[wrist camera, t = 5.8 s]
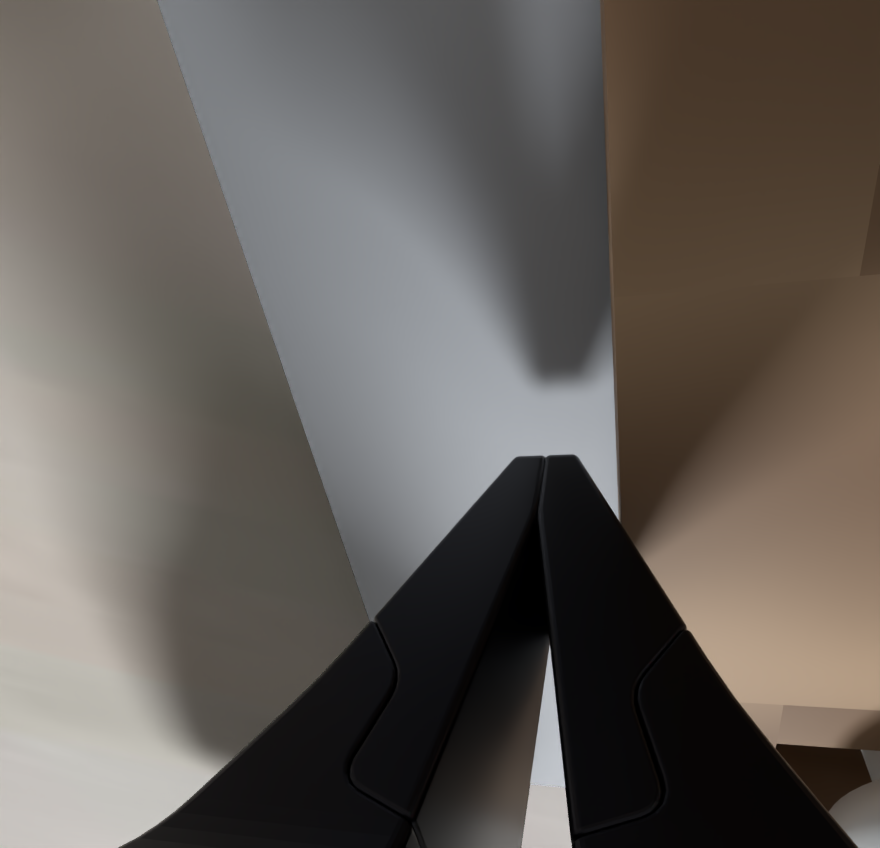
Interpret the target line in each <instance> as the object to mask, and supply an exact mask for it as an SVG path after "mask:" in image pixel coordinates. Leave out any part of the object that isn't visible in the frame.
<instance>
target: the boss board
mask: <svg viewBox="0 0 880 848" xmlns="http://www.w3.org/2000/svg"><path fill="white" fill-rule="evenodd" d="M157 2H158V5H159V8H160V11H161V13H162V16H163V19H164V22H165V25H166V28H167V31H168V34H169V37H170V40H171V43H172V46H173V49H174V51H175V54H176V57H177V60H178V63H179V66H180V69H181V72H182V75H183V78H184V81H185V84H186V86H187V89H188V92H189V95H190V98H191V101H192V104H193V107H194V110H195V113H196V116H197V119H198V121H199V124H200V127H201V130H202V133H203V136H204V139H205V142H206V145H207V148H208V151H209V154H210V157H211V159H212V162H213V165H214V168H215V171H216V174H217V177H218V180H219V183H220V186H221V189H222V192H223V194H224V197H225V200H226V203H227V206H228V209H229V212H230V215H231V218H232V221H233V224H234V227H235V229H236V232H237V235H238V238H239V241H240V244H241V247H242V250H243V253H244V256H245V259H246V262H247V265H248V267H249V270H250V273H251V276H252V279H253V282H254V285H255V288H256V291H257V294H258V297H259V300H260V302H261V305H262V308H263V311H264V314H265V317H266V320H267V323H268V326H269V329H270V332H271V335H272V337H273V340H274V343H275V346H276V349H277V352H278V355H279V358H280V361H281V364H282V367H283V370H284V373H285V375H286V378H287V381H288V384H289V387H290V390H291V393H292V396H293V399H294V402H295V405H296V408H297V410H298V413H299V416H300V419H301V422H302V425H303V428H304V431H305V434H306V437H307V440H308V443H309V445H310V448H311V451H312V454H313V457H314V460H315V463H316V466H317V469H318V472H319V475H320V478H321V481H322V483H323V486H324V489H325V492H326V495H327V498H328V501H329V504H330V507H331V510H332V513H333V516H334V518H335V521H336V524H337V527H338V530H339V533H340V536H341V539H342V542H343V545H344V548H345V551H346V553H347V556H348V559H349V562H350V565H351V568H352V571H353V574H354V577H355V580H356V583H357V586H358V589H359V591H360V594H361V597H362V600H363V603H364V606H365V609H366V612H367V615H368V618H369V621H370V622H371V621H374V617H375V616H376V614H377V613H378V612H379V611H380V610H381V609H382V608H383V606H384V605H385V604H386V603H387V602H388V601H389V600H390V598H391V597H392V596H393V595H394V594H395V593H396V592H397V591H398V589H399V588H400V587H401V586H402V585H403V584H404V583H405V581H406V580H407V579H408V578H409V577H410V576H411V575H412V573H413V572H414V571H415V570H416V569H417V568H418V567H419V566H420V564H421V563H422V562H423V561H424V560H425V559H426V558H427V556H428V555H429V554H430V553H431V552H432V551H433V550H434V548H435V547H436V546H437V545H438V544H439V543H440V542H441V541H442V539H443V538H444V537H445V536H446V535H447V534H448V533H449V531H450V530H451V529H452V528H453V527H454V526H455V525H456V523H457V522H458V521H459V520H460V519H461V518H462V517H463V516H464V514H465V513H466V512H467V511H468V510H469V509H470V508H471V506H472V505H473V504H474V503H475V502H476V501H477V500H478V498H479V497H480V496H481V495H482V494H483V493H484V492H485V491H486V489H487V488H488V487H489V486H490V485H491V484H492V483H493V481H494V480H495V479H496V478H497V477H498V476H499V475H500V474H501V472H502V471H503V470H504V469H505V468H506V467H507V466H508V464H509V463H510V462H511V461H512V460H513V459H514V458H515V457H518V456H537V455H542V456H545V457H547V456H548V455H563V454H574V455H576V456H577V457H578V458H579V459H580V460H581V462H582V464H583V465H584V467H585V468H586V470H587V471H588V473H589V475H590V476H591V478H592V479H593V481H594V482H595V484H596V485H597V487H598V489H599V490H600V492H601V493H602V495H603V496H604V498H605V499H606V501H607V503H608V504H609V506H610V507H611V509H612V510H613V512H614V513H615V515H616V517H617V518H618V520H619V514H618V487H617V459H616V431H615V403H614V376H613V348H612V320H611V292H610V265H609V237H608V209H607V181H606V154H605V126H604V98H603V70H602V43H601V15H600V0H157ZM374 622H375V621H374ZM861 752H862V754H863V757H864V760H865V763H866V766H867V769H868V771H869V774H870V777H871V780H872V782H870V783H868V784H865V785H863V786H860V787H858V788H857V789H855V790H853V791H851V792H849V793H848V794H846V795H845V796H843V797H842V798H841V799H839V800H838V801H837V802H836V803H835V804H834V805H833V807H832V808H831V809H830V811H829V813H830V814H831V815H832V817H833V818H834V819H835V820H836V821H837V823H838V824H839V825H840V826H841V827H842V829H843V830H844V831H845V832H846V833H847V835H848V836H849V837H850V838H851V839H852V841H853V842H854V843H855V844H856V845H857V847H858V848H880V751H873V750H861ZM530 784H531V785H542V786H552V787H563V788H565V780H564V770H563V761H562V752H561V743H560V733H559V724H558V715H557V706H556V697H555V687H554V678H553V669H552V660H551V650H550V646H549V653H548V660H547V667H546V674H545V682H544V689H543V696H542V703H541V710H540V717H539V724H538V731H537V738H536V745H535V753H534V760H533V767H532V774H531V781H530Z"/></svg>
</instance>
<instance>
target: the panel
mask: <svg viewBox="0 0 880 848" xmlns="http://www.w3.org/2000/svg"><path fill="white" fill-rule="evenodd" d="M600 15H601V43H602V70H603V98H604V126H605V154H606V181H607V209H608V237H609V265H610V292H611V320H612V348H613V376H614V403H615V431H616V459H617V487H618V514H619V521H620V523H621V524H622V526H623V527H624V529H625V531H626V532H627V534H628V535H629V537H630V538H631V540H632V541H633V543H634V545H635V546H636V548H637V549H638V551H639V552H640V554H641V555H642V557H643V559H644V560H645V562H646V563H647V565H648V566H649V568H650V570H651V571H652V573H653V574H654V576H655V577H656V579H657V580H658V582H659V584H660V585H661V587H662V588H663V590H664V591H665V593H666V594H667V596H668V598H669V599H670V601H671V602H672V604H673V605H674V607H675V608H676V610H677V612H678V613H679V615H680V616H681V618H682V619H683V621H684V622H685V624H686V626H687V630H689V631H690V632H691V633H692V634H693V636H694V637H695V639H696V641H697V642H698V644H699V645H700V647H701V648H702V650H703V651H704V653H705V655H706V656H707V658H708V659H709V661H710V662H711V663H712V665H713V666H714V668H715V669H716V671H717V672H718V673H719V675H720V676H721V678H722V679H723V681H724V682H725V684H726V685H727V686H728V688H729V689H730V691H731V692H732V694H733V695H734V697H735V698H736V699H737V701H738V702H739V703H740V704H741V706H742V707H743V708H744V709H745V711H746V712H747V713H748V714H749V716H750V717H751V718H752V720H753V721H754V722H755V723H756V725H757V726H758V727H759V728H760V730H761V731H762V732H763V733H764V735H765V736H766V737H767V738H768V740H769V741H770V742H771V744H772V745H773V746H774V747H775V748H776V750H777V751H778V752H779V753H780V754H781V756H782V757H783V758H784V759H785V760H786V762H787V763H788V764H789V765H790V766H791V768H792V769H793V770H794V771H795V772H796V774H797V775H798V776H799V777H800V778H801V780H802V781H803V782H804V783H805V784H806V785H807V787H808V788H809V789H810V790H811V791H812V793H813V794H814V795H815V796H816V797H817V799H818V800H819V801H820V802H821V803H822V805H823V806H824V807H825V808H826V809H827V811H828V812H829V811H830V809H831V808H832V807H833V805H834V804H835V803H836V802H837V801H838V800H839V799H841V798H842V797H843V796H845V795H846V794H848V793H849V792H851V791H853V790H855V789H857V788H858V787H860V786H863V785H865V784H868V783H870V782H872V780H871V777H870V774H869V771H868V769H867V766H866V763H865V760H864V757H863V754H862V752H861V750H873V751H880V0H600Z"/></svg>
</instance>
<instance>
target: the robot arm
mask: <svg viewBox="0 0 880 848" xmlns="http://www.w3.org/2000/svg"><path fill="white" fill-rule="evenodd" d="M374 621H375V622H374ZM374 621H371V622H369V623H368V624H367V625H366V626H365V628H364V629H363V630H362V631H361V632H360V633H359V634H358V636H357V637H356V638H355V639H354V640H353V641H352V642H351V643H350V645H349V646H348V647H347V648H346V649H345V650H344V651H343V652H342V653H341V654H340V655H339V656H338V657H337V659H336V660H335V661H334V662H333V663H332V664H331V665H330V666H329V667H328V668H327V669H326V670H325V671H324V672H323V674H322V675H321V676H320V677H319V678H318V679H317V680H316V681H315V682H313V683H312V684H311V685H310V686H309V687H308V688H307V689H306V690H305V691H304V692H303V693H302V694H301V695H300V696H299V697H298V698H297V699H296V700H295V701H294V702H293V703H292V704H291V705H290V706H289V707H288V708H287V709H286V710H285V711H284V712H283V713H281V714H280V715H279V716H278V717H277V718H276V719H275V720H274V721H273V722H272V723H271V724H270V725H269V726H267V727H266V728H265V729H264V730H263V731H262V732H261V733H260V734H259V735H258V736H257V737H256V738H255V739H253V740H252V741H251V742H250V743H249V744H248V745H247V746H246V747H245V748H244V749H243V750H242V751H241V752H239V753H238V754H237V755H236V756H235V757H234V758H233V759H232V760H231V761H230V762H229V763H228V764H227V765H225V766H224V767H223V768H222V769H221V770H220V771H219V772H218V773H217V774H216V775H215V776H214V777H213V778H211V779H210V780H209V781H208V782H207V783H206V784H205V785H204V786H203V787H202V788H201V789H200V790H199V791H197V792H196V793H195V794H194V795H193V796H192V797H191V798H190V799H189V800H187V801H186V802H185V803H184V804H183V805H182V806H181V807H179V808H178V809H177V810H176V811H175V812H173V813H172V814H171V815H169V816H168V817H167V818H165V819H164V820H163V821H161V822H160V823H159V824H157V825H156V826H155V827H153V828H151V829H150V830H148V831H147V832H145V833H144V834H142V835H141V836H139V837H137V838H136V839H134V840H132V841H130V842H128V843H126V844H124V845H122V846H121V847H119V848H521V845H522V838H523V831H524V824H525V816H526V809H527V802H528V795H529V788H530V781H531V774H532V767H533V760H534V753H535V745H536V738H537V731H538V724H539V717H540V710H541V703H542V696H543V689H544V682H545V674H546V667H547V660H548V653H549V646H550V650H551V660H552V669H553V678H554V687H555V697H556V706H557V715H558V724H559V733H560V743H561V752H562V761H563V770H564V780H565V789H566V798H567V807H568V817H569V826H570V835H571V842H572V848H858V847H857V845H856V844H855V843H854V842H853V841H852V839H851V838H850V837H849V836H848V835H847V833H846V832H845V831H844V830H843V829H842V827H841V826H840V825H839V824H838V823H837V821H836V820H835V819H834V818H833V817H832V815H831V814H830V813H829V812H828V811H827V809H826V808H825V807H824V806H823V805H822V803H821V802H820V801H819V800H818V799H817V797H816V796H815V795H814V794H813V793H812V791H811V790H810V789H809V788H808V787H807V785H806V784H805V783H804V782H803V781H802V780H801V778H800V777H799V776H798V775H797V774H796V772H795V771H794V770H793V769H792V768H791V766H790V765H789V764H788V763H787V762H786V760H785V759H784V758H783V757H782V756H781V754H780V753H779V752H778V751H777V750H776V748H775V747H774V746H773V745H772V744H771V742H770V741H769V740H768V738H767V737H766V736H765V735H764V733H763V732H762V731H761V730H760V728H759V727H758V726H757V725H756V723H755V722H754V721H753V720H752V718H751V717H750V716H749V714H748V713H747V712H746V711H745V709H744V708H743V707H742V706H741V704H740V703H739V702H738V701H737V699H736V698H735V697H734V695H733V694H732V692H731V691H730V689H729V688H728V686H727V685H726V684H725V682H724V681H723V679H722V678H721V676H720V675H719V673H718V672H717V671H716V669H715V668H714V666H713V665H712V663H711V662H710V661H709V659H708V658H707V656H706V655H705V653H704V651H703V650H702V648H701V647H700V645H699V644H698V642H697V641H696V639H695V637H694V636H693V634H692V633H691V632H690V631H689V630H687V626H686V624H685V622H684V621H683V619H682V618H681V616H680V615H679V613H678V612H677V610H676V608H675V607H674V605H673V604H672V602H671V601H670V599H669V598H668V596H667V594H666V593H665V591H664V590H663V588H662V587H661V585H660V584H659V582H658V580H657V579H656V577H655V576H654V574H653V573H652V571H651V570H650V568H649V566H648V565H647V563H646V562H645V560H644V559H643V557H642V555H641V554H640V552H639V551H638V549H637V548H636V546H635V545H634V543H633V541H632V540H631V538H630V537H629V535H628V534H627V532H626V531H625V529H624V527H623V526H622V524H621V523H620V521H619V520H618V518H617V517H616V515H615V513H614V512H613V510H612V509H611V507H610V506H609V504H608V503H607V501H606V499H605V498H604V496H603V495H602V493H601V492H600V490H599V489H598V487H597V485H596V484H595V482H594V481H593V479H592V478H591V476H590V475H589V473H588V471H587V470H586V468H585V467H584V465H583V464H582V462H581V460H580V459H579V458H578V457H577V456H576V455H574V454H563V455H548V456H547V457H545V456H542V455H537V456H518V457H515V458H514V459H513V460H512V461H511V462H510V463H509V464H508V466H507V467H506V468H505V469H504V470H503V471H502V472H501V474H500V475H499V476H498V477H497V478H496V479H495V480H494V481H493V483H492V484H491V485H490V486H489V487H488V488H487V489H486V491H485V492H484V493H483V494H482V495H481V496H480V497H479V498H478V500H477V501H476V502H475V503H474V504H473V505H472V506H471V508H470V509H469V510H468V511H467V512H466V513H465V514H464V516H463V517H462V518H461V519H460V520H459V521H458V522H457V523H456V525H455V526H454V527H453V528H452V529H451V530H450V531H449V533H448V534H447V535H446V536H445V537H444V538H443V539H442V541H441V542H440V543H439V544H438V545H437V546H436V547H435V548H434V550H433V551H432V552H431V553H430V554H429V555H428V556H427V558H426V559H425V560H424V561H423V562H422V563H421V564H420V566H419V567H418V568H417V569H416V570H415V571H414V572H413V573H412V575H411V576H410V577H409V578H408V579H407V580H406V581H405V583H404V584H403V585H402V586H401V587H400V588H399V589H398V591H397V592H396V593H395V594H394V595H393V596H392V597H391V598H390V600H389V601H388V602H387V603H386V604H385V605H384V606H383V608H382V609H381V610H380V611H379V612H378V613H377V614H376V616H375V617H374Z"/></svg>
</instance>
